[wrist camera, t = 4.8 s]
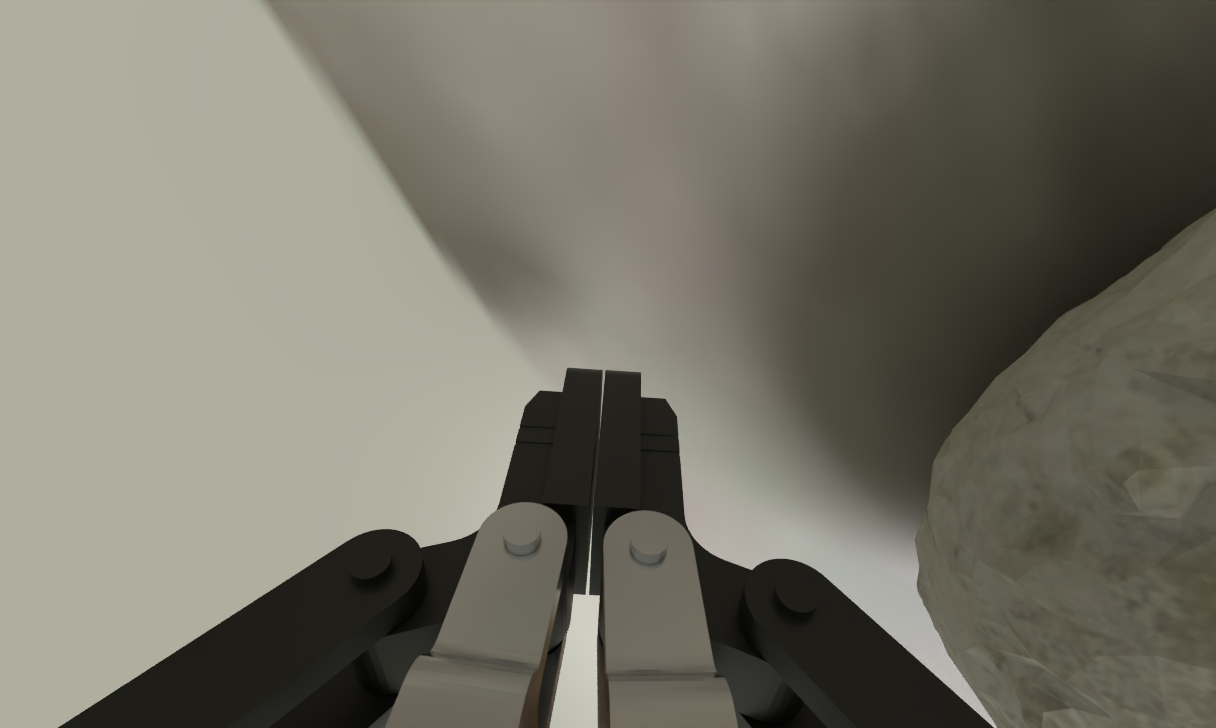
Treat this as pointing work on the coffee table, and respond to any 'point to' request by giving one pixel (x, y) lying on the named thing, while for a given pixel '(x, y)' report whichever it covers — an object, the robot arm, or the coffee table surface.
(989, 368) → the coffee table surface
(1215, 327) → the decorative shell
